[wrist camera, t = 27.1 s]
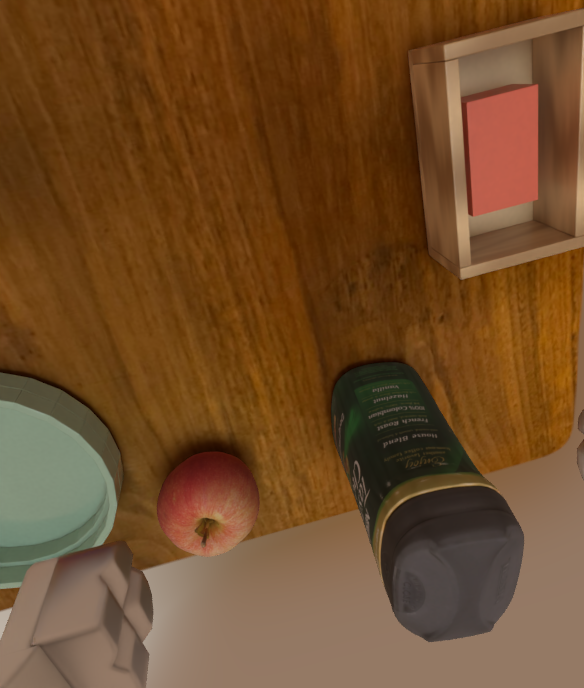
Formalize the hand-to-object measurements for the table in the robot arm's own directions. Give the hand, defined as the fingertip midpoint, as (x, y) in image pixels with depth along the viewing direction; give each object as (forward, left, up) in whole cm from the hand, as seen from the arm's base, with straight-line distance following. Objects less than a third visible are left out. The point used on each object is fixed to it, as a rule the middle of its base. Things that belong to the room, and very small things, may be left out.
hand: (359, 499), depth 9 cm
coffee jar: (+20, +6, -29) cm, 36 cm away
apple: (+22, -9, -29) cm, 38 cm away
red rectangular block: (+1, +16, -28) cm, 33 cm away
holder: (+1, +16, -29) cm, 33 cm away
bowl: (+16, -24, -29) cm, 41 cm away
